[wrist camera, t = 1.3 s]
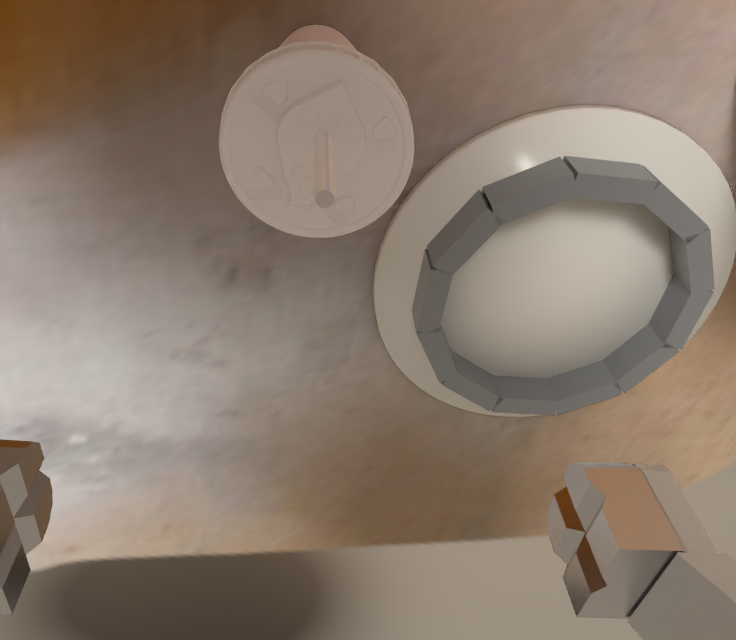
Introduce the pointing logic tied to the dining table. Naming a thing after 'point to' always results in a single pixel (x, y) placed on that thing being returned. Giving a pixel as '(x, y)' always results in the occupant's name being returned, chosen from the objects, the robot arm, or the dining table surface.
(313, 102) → the smoothie
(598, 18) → the dining table surface
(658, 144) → the ring plate
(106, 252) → the dining table surface
